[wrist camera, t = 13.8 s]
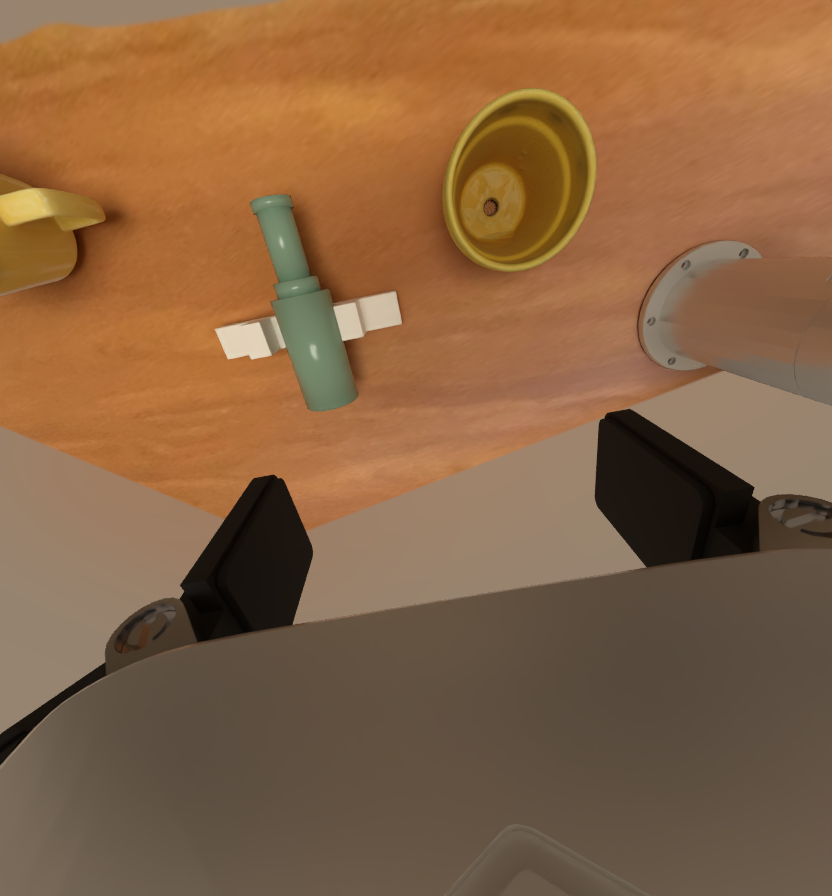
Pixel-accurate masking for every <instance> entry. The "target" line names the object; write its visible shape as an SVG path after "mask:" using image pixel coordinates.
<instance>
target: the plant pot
mask: <svg viewBox="0 0 832 896" xmlns="http://www.w3.org/2000/svg"><path fill="white" fill-rule="evenodd" d="M596 174H597V161H596V151H595V145H594V142H593V138H592V135H591V132H590V130H589V127H588V125H587V123H586V121H585V119H584V118H583V117H582V115H581V114H580V112H579V111H578V110H577V109H576V107H575V106H574V105H573V104H572V103H570V102H569V101H568V100H567V99H565V98H564V97H562V96H560V95H559V94H557V93H554V92H552V91H549V90H545V89H540V88H524V89H519V90H514V91H511V92H509V93H506V94H504V95H502V96H500V97H498V98H496V99H495V100H493V101H492V102H490V103H489V104H487V105H486V106H485V107H484V108H483V109H481V110H480V111H479V112H478V113H477V114H476V115H475V116H474V117H473V119H472V120H471V121H470V122H469V124H468V125H467V126H466V128H465V129H464V131H463V132H462V134H461V135H460V137H459V139H458V141H457V143H456V145H455V147H454V149H453V151H452V153H451V156H450V158H449V161H448V164H447V168H446V171H445V176H444V181H443V189H442V206H443V213H444V218H445V222H446V225H447V228H448V231H449V233H450V235H451V237H452V239H453V241H454V243H455V244H456V246H457V247H458V248H459V249H460V251H461V252H462V253H463V254H464V255H465V256H466V257H468V258H469V259H470V260H471V261H473V262H475V263H476V264H478V265H480V266H482V267H485V268H488V269H492V270H496V271H503V272H517V271H523V270H527V269H531V268H533V267H536V266H538V265H540V264H542V263H544V262H546V261H548V260H549V259H551V258H552V257H553V256H555V255H556V254H557V253H559V252H560V251H561V250H562V249H563V248H564V247H565V246H566V245H567V244H568V243H569V241H570V240H571V239H572V238H573V237H574V235H575V234H576V232H577V231H578V229H579V227H580V226H581V224H582V222H583V220H584V218H585V216H586V214H587V212H588V209H589V207H590V204H591V200H592V197H593V193H594V189H595V182H596ZM488 200H494V201H495V202H496V204H497V210H496V212H495V213H494V214H493V215H491V216H488V215H486V214H485V213H484V204H485V203H486V201H488Z"/></svg>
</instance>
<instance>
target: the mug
mask: <svg viewBox="0 0 832 896" xmlns="http://www.w3.org/2000/svg"><path fill="white" fill-rule="evenodd" d="M105 219H106V218H105V214H104V211H103V209H102V208H101V206H100V205H99V203H98V202H97V201H96V200H94V199H93V198H90V197H87V196H84V195H79V194H76V193H70V192H65V191H60V190H54V189H47V188H34V187H32V186H30V185H28V184H26V183H24V182H22V181H20V180H17V179H14V178H11V177H9V176H6V175H3V174H0V296H4V295H7V294H11V293H14V292H18V291H22V290H25V289H29V288H32V287H36V286H40V285H44V284H48V283H52V282H56V281H59V280H61V279H63V278H65V277H66V276H68V275H69V274H70V272H71V271H72V270H73V268H74V266H75V263H76V261H77V244H76V239H75V236H74V233H73V231H72V230H75V229H79V228H82V227H86V226H90V225H94V224H97V223H101V222H103V221H105Z"/></svg>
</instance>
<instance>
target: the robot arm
mask: <svg viewBox="0 0 832 896" xmlns="http://www.w3.org/2000/svg"><path fill="white" fill-rule="evenodd" d="M638 328H639V338H640V342H641V345H642V347H643V349H644V351H645V353H646V354H647V355H648V356H649V357H650V359H651V360H652V361H654V362H656V363H657V364H659V365H661V366H663V367H666V368H668V369H673V370H678V371H689V370H694V369H700V368H702V367H705V366H708V365H709V366H712V367H715V368H718V369H721V370H724V371H727V372H730V373H733V374H736V375H739V376H742V377H746V378H748V379H751V380H754V381H757V382H760V383H763V384H767V385H770V386H773V387H776V388H779V389H782V390H785V391H788V392H791V393H794V394H797V395H800V396H803V397H806V398H809V399H812V400H815V401H819V402H822V403H825V404H828V405H831V406H832V257H800V258H763V257H762V255H761V254H760V252H758V251H757V250H756V249H755V248H753V247H752V246H751V245H748V244H746V243H743V242H740V241H732V240H725V241H715V242H710V243H705V244H702V245H700V246H697V247H695V248H692V249H690V250H689V251H687V252H686V253H684V254H682V255H681V256H679V257H678V258H677V259H675V260H674V261H673V262H672V263H671V264H669V265H668V266H667V267H666V268H665V270H664V271H663V272H662V273H661V274H660V275H659V276H658V277H657V279H656V280H655V282H654V283H653V285H652V286H651V288H650V289H649V291H648V293H647V295H646V297H645V299H644V302H643V305H642V308H641V311H640V317H639V324H638ZM753 490H754V487H753V486H752V485H750V484H749V483H747V482H745V481H744V480H742V479H741V478H739V477H737V476H736V475H734V474H733V473H731V472H729V471H728V470H726V469H725V468H723V467H722V466H720V465H718V464H717V463H715V462H714V461H712V460H710V459H709V458H707V457H706V456H704V455H703V454H701V453H699V452H698V451H696V450H695V449H693V448H692V447H690V446H688V445H687V444H685V443H684V442H682V441H680V440H679V439H677V438H675V437H674V436H672V435H671V434H669V433H668V432H666V431H665V430H663V429H661V428H659V427H658V426H657V425H655V424H653V423H652V422H650V421H649V420H647V419H645V418H644V417H642V416H641V415H639V414H638V413H636V412H634V411H633V410H631V409H626V410H621V411H616V412H610V413H607V414H606V416H605V418H604V419H601V420H600V422H599V432H598V449H597V466H596V484H595V501H596V504H597V506H598V508H599V509H600V510H601V512H602V513H603V514H604V515H605V517H606V518H607V519H608V520H609V521H610V523H611V524H612V525H613V526H614V528H615V529H616V530H617V531H618V533H619V534H620V535H621V536H622V537H623V539H624V540H625V541H626V542H627V544H628V545H629V546H630V547H631V549H632V550H633V551H634V552H635V554H637V556H638V557H639V559H640V560H641V561H642V562H643V563H644V565H645V566H646V567H647V568H640V569H634V570H628V571H621V572H615V573H608V574H602V575H596V576H589V577H584V578H577V579H570V580H564V581H557V582H551V583H544V584H538V585H531V586H525V587H519V588H513V589H507V590H501V591H494V592H488V593H482V594H476V595H470V596H464V597H457V598H451V599H445V600H439V601H433V602H427V603H420V604H414V605H409V606H402V607H397V608H390V609H385V610H378V611H372V612H366V613H360V614H354V615H348V616H343V617H337V618H331V619H325V620H319V621H313V622H307V623H301V624H295V625H292V624H293V621H294V617H295V614H296V610H297V607H298V604H299V601H300V597H301V593H302V590H303V587H304V584H305V581H306V577H307V574H308V571H309V567H310V564H311V560H312V557H313V549H312V545H311V543H310V540H309V538H308V536H307V533H306V531H305V528H304V526H303V524H302V521H301V519H300V517H299V514H298V512H297V510H296V507H295V505H294V503H293V500H292V498H291V496H290V493H289V491H288V489H287V486H286V484H285V482H284V480H283V479H282V478H279V479H278V478H277V477H276V476H275V475H269V476H263V477H258V478H254V479H253V480H252V481H251V482H250V484H249V485H248V487H247V488H246V490H245V491H244V493H243V494H242V496H241V497H240V498H239V500H238V501H237V503H236V504H235V506H234V507H233V509H232V510H231V512H230V513H229V515H228V516H227V517H226V519H225V520H224V522H223V523H222V525H221V526H220V528H219V529H218V531H217V532H216V534H215V535H214V536H213V538H212V539H211V541H210V542H209V544H208V545H207V547H206V548H205V550H204V551H203V553H202V554H201V555H200V557H199V559H198V560H197V561H196V563H195V564H194V566H193V567H192V569H191V570H190V571H189V573H188V575H187V576H186V577H185V579H184V580H183V582H182V583H181V585H180V586H181V587H182V589H183V590H184V593H183V595H182V596H181V598H180V599H177V598H164V599H161V600H158V601H155V602H152V603H150V604H148V605H146V606H144V607H142V608H141V609H139V610H138V611H137V612H135V613H134V614H132V615H131V616H129V617H128V618H127V619H126V620H125V621H124V622H123V623H122V624H121V625H120V626H119V627H118V628H117V629H116V630H115V631H114V633H113V634H112V635H111V637H110V639H109V641H108V642H107V645H106V649H105V663H104V664H102V665H101V666H99V667H98V668H96V669H95V670H93V671H92V672H90V673H89V674H87V675H86V676H84V677H83V678H82V679H80V680H79V681H77V682H76V683H74V684H73V685H71V686H70V687H68V688H67V689H65V690H64V691H62V692H61V693H60V694H58V695H57V696H55V697H54V698H52V699H51V700H49V701H48V702H46V703H45V704H43V705H42V706H41V707H39V708H38V709H36V710H35V711H33V712H32V713H31V714H29V715H27V716H26V717H25V718H23V719H22V720H20V721H19V722H17V723H16V724H14V725H13V726H11V727H10V728H9V729H7V730H6V731H4V732H3V733H2V734H0V896H832V503H831V502H828V501H825V500H823V499H818V498H814V497H809V496H802V495H793V494H782V495H774V496H770V497H766V498H765V499H763V500H762V501H761V502H760V501H759V500H757V499H756V498H754V497H753V496H752V494H753Z"/></svg>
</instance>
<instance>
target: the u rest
mask: <svg viewBox="0 0 832 896" xmlns="http://www.w3.org/2000/svg"><path fill="white" fill-rule="evenodd" d="M333 304H334V307H333V308H334V312H335V316H336V319H337V323H338V327H339V330H340V334H341V337H342V341H345V340H350V339H355V338H360V337H364V335H365V333H366V331H370V330H375V329H380V328H385V327H390V326H395V325H400V324H402V319H401V314H400V309H399V304H398V299H397V294H396V290H394V291H389V292H384V293H379V294H375V295H370V296H365V297H360V298H355V299H351V300H346V301H341V302H336V303H333ZM215 330H216V333H217V335H218V337H219V340H220V342H221V344H222V347H223V349H224V351H225V354H226V356H227V358H228V359H232V358H237V357H242V356H247V355H249V356H250V358H251V359H256V358H261V357H266V356H271V355H273V354H274V353H276V352H277V351H278V350H280V349H282V348H286V345H285V343H284V340H283V337H282V334H281V331H280V328H279V325H278V323H277V320H276V317H275V315H274V316H269V317H264V318H259V319H254V320H250V321H245V322H240V323H235V324H230V325H226V326H222V327H220V328H217V329H215Z"/></svg>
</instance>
